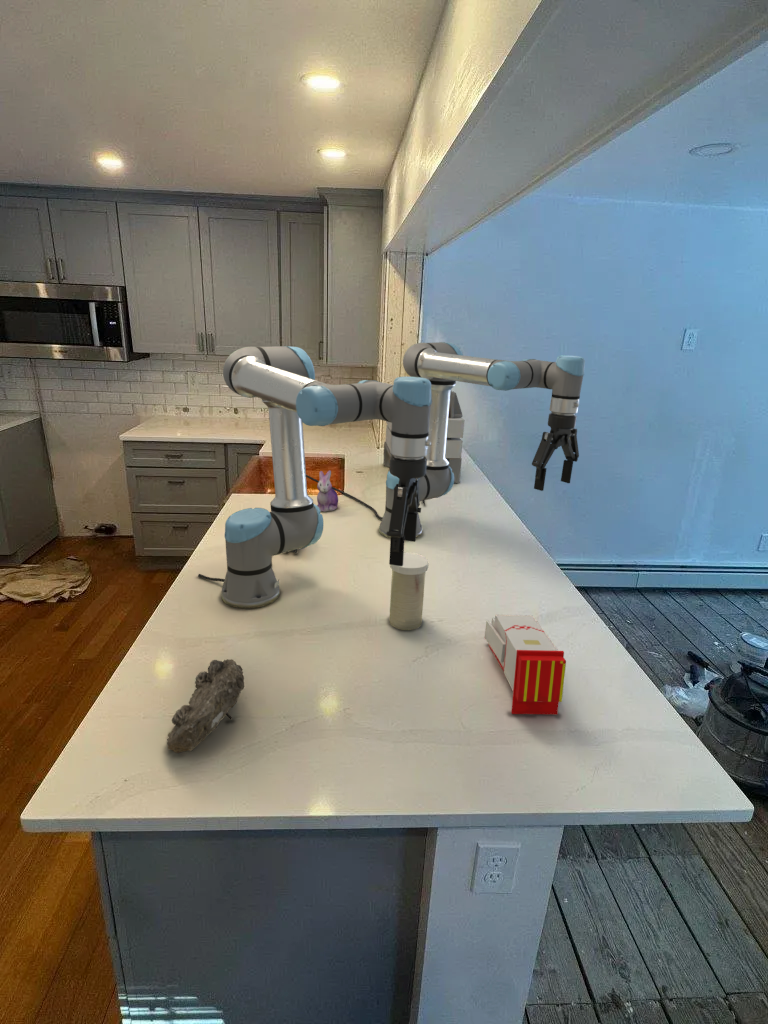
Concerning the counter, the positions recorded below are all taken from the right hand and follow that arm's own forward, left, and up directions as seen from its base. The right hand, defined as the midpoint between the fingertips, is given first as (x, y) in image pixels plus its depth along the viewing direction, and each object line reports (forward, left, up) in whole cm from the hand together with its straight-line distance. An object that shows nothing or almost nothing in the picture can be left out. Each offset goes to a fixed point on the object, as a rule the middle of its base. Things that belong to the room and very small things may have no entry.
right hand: (552, 485), depth 166 cm
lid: (-3, -53, -11) cm, 55 cm away
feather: (-74, +23, -28) cm, 82 cm away
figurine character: (-59, -51, -28) cm, 83 cm away
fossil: (0, -107, -28) cm, 110 cm away
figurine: (-84, -20, -28) cm, 91 cm away
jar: (-3, -53, -28) cm, 60 cm away
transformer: (-101, +46, -28) cm, 115 cm away
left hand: (+6, -64, -2) cm, 65 cm away
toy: (+28, -48, -28) cm, 62 cm away
